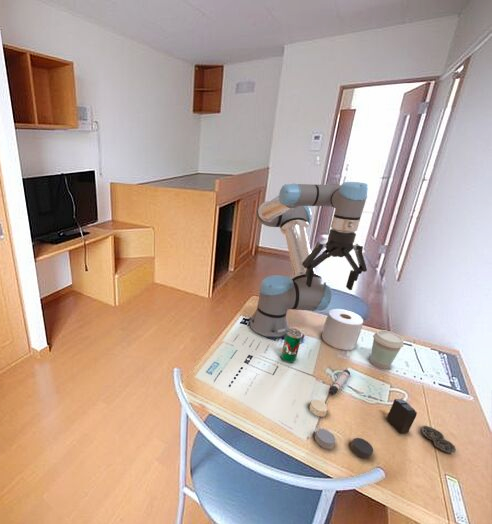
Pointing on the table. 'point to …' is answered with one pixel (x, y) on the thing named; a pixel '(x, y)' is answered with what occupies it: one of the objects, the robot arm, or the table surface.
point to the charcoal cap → (362, 448)
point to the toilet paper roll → (342, 329)
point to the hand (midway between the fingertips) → (328, 287)
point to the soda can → (291, 345)
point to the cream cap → (318, 408)
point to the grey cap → (325, 438)
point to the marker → (339, 382)
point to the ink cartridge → (401, 415)
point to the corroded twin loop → (438, 439)
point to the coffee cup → (385, 348)
